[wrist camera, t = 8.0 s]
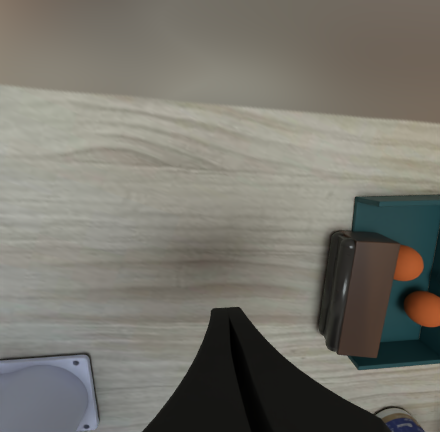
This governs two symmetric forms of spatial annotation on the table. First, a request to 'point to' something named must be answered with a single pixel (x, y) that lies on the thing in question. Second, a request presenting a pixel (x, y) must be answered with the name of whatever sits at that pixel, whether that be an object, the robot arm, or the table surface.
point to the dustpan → (396, 316)
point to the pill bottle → (399, 420)
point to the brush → (357, 292)
